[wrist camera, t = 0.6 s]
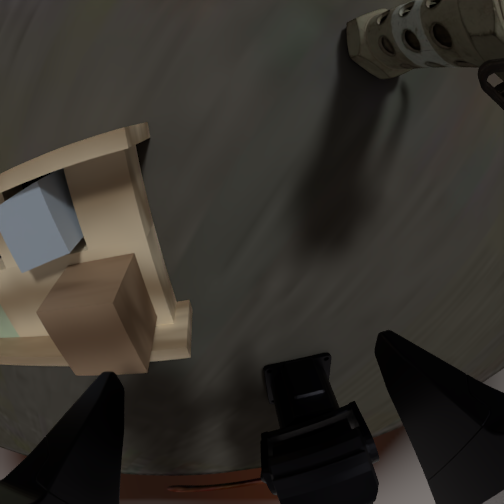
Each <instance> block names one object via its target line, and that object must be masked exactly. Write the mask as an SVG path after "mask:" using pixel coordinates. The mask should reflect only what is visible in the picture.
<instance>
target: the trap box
mask: <svg viewBox="0 0 504 504" xmlns="http://www.w3.org/2000/svg"><path fill="white" fill-rule="evenodd" d="M148 138H150V133H149V128H148V122H145V123H141V124H136V125H132V126H128V127H124V128H120V129H117V130H113V131H110V132H107V133H103V134H100V135H97V136H94V137H91V138H88V139H85V140H82V141H79V142H76V143H73V144H70V145H67V146H65V147H62V148H59V149H57V150H54V151H51V152H49V153H46V154H44V155H41V156H39V157H37V158H34V159H32V160H30V161H27V162H25V163H23V164H20V165H18V166H16V167H14V168H12V169H10V170H7V171H5V172H3V173H1V174H0V204H2V203H3V202H5V201H6V200H8V199H9V198H11V197H12V196H14V195H15V194H17V193H18V192H20V191H22V190H23V188H22V183H25V182H27V181H30V180H32V179H35V178H37V177H40V176H43V175H45V174H48V173H51V172H53V171H56V170H59V169H62V168H63V169H64V173H65V176H66V180H67V184H68V188H69V191H70V195H71V198H72V202H73V205H74V208H75V212H76V215H77V218H78V221H79V224H80V227H81V230H82V233H83V236H84V238H82V239H81V240H80V241H79V242H78V244H77V245H76V246H75V247H74V249H73V250H72V251H71V252H70V253H69V254H66V255H64V256H62V257H59V258H57V259H54V260H52V261H49V262H47V263H45V264H42V265H40V266H38V267H35V268H33V269H31V270H28V271H26V272H24V273H22V272H21V271H20V269H19V267H18V265H17V264H16V262H15V260H14V258H13V256H12V254H11V252H10V250H9V249H8V247H7V245H6V243H5V241H4V239H3V236H2V234H1V232H0V255H1V258H0V364H5V365H27V366H69V365H68V363H67V362H66V360H65V359H64V357H63V356H62V354H61V353H60V351H59V350H58V348H57V347H56V345H55V344H54V342H53V340H52V339H51V337H50V336H49V334H48V332H47V331H46V329H45V327H44V326H43V324H42V322H41V321H40V319H39V317H38V315H37V313H36V312H37V310H38V308H39V307H40V305H41V304H42V302H43V301H44V299H45V298H46V296H47V295H48V293H49V292H50V290H51V289H52V287H53V286H54V284H55V283H56V282H57V280H58V279H59V277H60V276H61V274H62V273H63V272H64V270H65V269H66V268H67V266H68V265H73V264H78V263H83V262H88V261H93V260H99V259H104V258H109V257H114V256H120V255H125V254H131V253H135V256H136V259H137V262H138V265H139V268H140V271H141V274H142V277H143V280H144V283H145V285H146V288H147V291H148V294H149V296H150V299H151V302H152V304H153V307H154V310H155V312H156V315H157V321H156V327H155V332H154V338H153V343H152V349H151V355H150V361H149V362H153V361H164V360H173V359H182V358H191V331H192V307H191V303H190V300H185V301H178V302H177V301H176V298H175V295H174V292H173V288H172V285H171V282H170V279H169V276H168V272H167V269H166V266H165V262H164V259H163V255H162V252H161V248H160V245H159V241H158V238H157V234H156V230H155V226H154V223H153V219H152V215H151V211H150V207H149V203H148V199H147V195H146V190H145V186H144V182H143V177H142V173H141V168H140V164H139V159H138V154H137V149H136V144H138V143H140V142H142V141H144V140H146V139H148Z"/></svg>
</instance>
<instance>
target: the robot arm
mask: <svg viewBox="0 0 504 504" xmlns="http://www.w3.org/2000/svg"><path fill="white" fill-rule="evenodd" d="M375 356H376V359H377V362H378V365H379V367H380V370H381V373H382V376H383V379H384V382H385V385H386V388H387V390H388V392H389V395H390V397H391V399H392V401H393V403H394V405H395V408H396V410H397V412H398V414H399V416H400V418H401V421H402V423H403V425H404V427H405V429H406V432H407V434H408V436H409V438H410V441H411V443H412V445H413V448H414V450H415V452H416V455H417V457H418V459H419V462H420V464H421V467H422V469H423V471H424V474H425V476H426V479H427V481H428V484H429V487H430V489H431V492H432V495H433V497H434V500H435V502H436V504H504V393H503V392H500V391H498V390H496V389H494V388H491V387H489V386H488V385H485V384H483V383H482V382H480V381H478V380H476V379H474V378H473V377H471V376H469V375H466V374H465V373H464V372H462V371H460V370H459V369H457V368H455V367H453V366H452V365H450V364H448V363H446V362H445V361H443V360H441V359H440V358H438V357H436V356H434V355H433V354H431V353H429V352H427V351H426V350H424V349H422V348H420V347H419V346H417V345H415V344H413V343H412V342H410V341H408V340H407V339H405V338H403V337H401V336H400V335H398V334H396V333H394V332H393V331H391V330H387V331H383V332H380V333H379V334H378V337H377V341H376V345H375ZM330 366H331V355H330V353H322V354H318V355H314V356H309V357H305V358H301V359H296V360H291V361H286V362H281V363H276V364H271V365H267V366H265V367H264V374H265V380H266V387H267V393H268V400H269V403H270V404H275V408H276V413H277V417H278V421H279V426H280V429H278V430H274V431H271V432H264V433H261V440H262V441H261V469H262V471H261V480H262V481H263V482H264V483H266V484H267V486H268V488H269V489H270V491H271V492H272V494H274V495H277V496H278V498H279V501H280V503H281V504H373V502H374V501H375V500H376V496H377V492H378V485H379V482H378V479H377V476H376V473H375V470H374V467H373V463H375V462H378V461H379V455H378V452H377V449H376V446H375V443H374V440H373V438H372V435H371V433H370V431H369V429H368V427H367V425H366V423H365V421H364V419H363V417H362V415H361V413H360V411H359V409H358V407H357V405H356V403H355V401H353V402H350V403H349V404H348V405H346V406H343V407H341V408H339V405H338V403H337V400H336V397H335V395H334V392H333V390H332V387H331V385H330V382H329V375H330ZM353 428H354V429H353ZM123 437H124V387H123V385H122V383H121V382H120V380H119V378H118V377H117V375H116V374H115V373H114V372H112V371H105V372H102V373H101V374H100V375H99V376H98V378H97V379H96V380H95V381H94V382H93V383H92V384H91V385H90V386H89V387H88V389H87V390H86V391H85V392H84V393H83V394H82V395H81V396H80V398H79V399H78V400H77V401H76V402H75V403H74V404H73V405H72V407H71V408H70V409H69V410H68V411H67V412H66V413H65V414H64V416H63V417H62V418H61V419H60V420H59V421H58V422H57V424H56V425H55V426H54V427H53V428H52V429H51V430H50V432H49V433H48V434H47V435H46V437H44V438H43V440H42V441H41V442H40V443H39V444H38V445H37V446H36V448H35V449H34V450H33V451H32V452H31V453H30V454H29V455H28V456H27V457H26V458H25V459H24V460H23V461H22V462H21V463H20V464H19V465H18V466H17V467H16V468H15V469H14V470H13V471H11V472H10V473H9V474H8V476H6V477H5V478H4V479H2V480H0V504H119V494H120V474H121V459H122V447H123Z"/></svg>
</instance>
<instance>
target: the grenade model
mask: <svg viewBox="0 0 504 504" xmlns="http://www.w3.org/2000/svg"><path fill="white" fill-rule="evenodd" d="M431 2H436V4H433V5H430V3H431ZM406 9H408V10H410V11H409V12H406V13H405V12H404V10H406ZM346 34H347V46H348V52H349V57H350V58H351V59H352V60H353V61H354V62H356V63H357V64H358V65H359V66H361V67H362V68H363V69H365V70H366V71H368V72H369V73H371V74H372V75H374V76H376V77H377V78H379V79H391V78H394V77H397V76H400V75H402V74H404V73H406V72H408V71H410V70H412V69H414V68H434V67H479V70H478V79H479V82H480V85H481V88H482V89H483V91H484V92H486V93H487V94H488V95H489V96H490V97H491V98H492V99H493V100H494V101H495V102H496V103H497V104H498V105H499V106H500V107H501V108H502V109H503V110H504V82H502V83H500V84H499V85H497V86H496V87H493V86H492V85H491V84H490V83H488V82H487V78H488V76H489V75H491V74H493V73H495V74H496V75H497V76H498V77H500V78H501V79H502V80H503V81H504V0H414V1H411V2H409V3H406V4H403V5H400V6H398V7H395V8H392V9H390V10H387V9H385V8H382V9H379V10H376V11H373V12H370V13H367V14H364V15H362V16H360V17H358V18H355V19H353V20H351V21H349V22H347V29H346Z"/></svg>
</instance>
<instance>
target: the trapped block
mask: <svg viewBox="0 0 504 504" xmlns="http://www.w3.org/2000/svg"><path fill="white" fill-rule="evenodd" d="M0 232H1V234H2V236H3V239H4V241H5V243H6V245H7V247H8V249H9V250H10V252H11V254H12V256H13V258H14V260H15V262H16V264H17V265H18V267H19V269H20V271H21V272H22V273H24V272H26V271H28V270H31V269H33V268H35V267H38V266H40V265H42V264H45V263H47V262H49V261H52V260H54V259H57V258H59V257H62V256H64V255H66V254H69V253H70V252H71V251H72V250H73V249H74V247H75V246H76V245H77V244H78V242H79V241H80V240H81V239H82V238H83V233H82V230H81V227H80V224H79V221H78V218H77V215H76V212H75V208H74V205H73V202H72V198H71V195H70V191H69V188H68V184H67V180H66V176H65V173H64V169H63V168H62V169H59V170H57V171H55V172H53V173H51V174H49V175H47V176H45V177H43V178H42V179H40V180H38V181H36V182H35V183H33V184H31V185H30V186H28V187H26V188H25V189H23V190H22V191H20V192H18V193H17V194H15V195H14V196H12V197H11V198H9V199H8V200H6V201H5V202H3V203H2V204H0Z"/></svg>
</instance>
